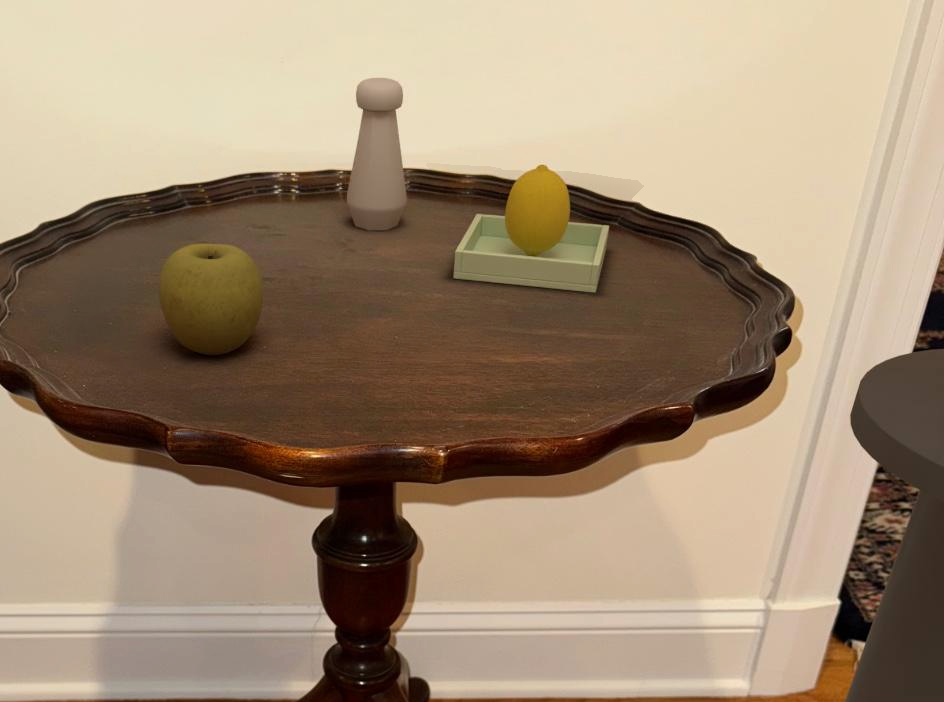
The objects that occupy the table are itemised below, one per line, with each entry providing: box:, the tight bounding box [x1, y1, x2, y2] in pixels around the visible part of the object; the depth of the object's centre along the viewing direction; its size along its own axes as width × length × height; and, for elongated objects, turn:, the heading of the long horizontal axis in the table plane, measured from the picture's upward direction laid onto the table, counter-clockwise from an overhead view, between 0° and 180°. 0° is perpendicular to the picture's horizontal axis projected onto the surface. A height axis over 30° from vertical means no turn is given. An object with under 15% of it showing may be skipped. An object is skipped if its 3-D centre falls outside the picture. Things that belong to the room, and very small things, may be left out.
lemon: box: [504, 164, 571, 257], centre depth 98 cm, size 6×6×8 cm
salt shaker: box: [346, 77, 408, 231], centre depth 106 cm, size 6×6×13 cm
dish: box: [452, 213, 610, 294], centre depth 100 cm, size 12×11×2 cm
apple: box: [158, 243, 264, 356], centre depth 83 cm, size 8×8×7 cm
